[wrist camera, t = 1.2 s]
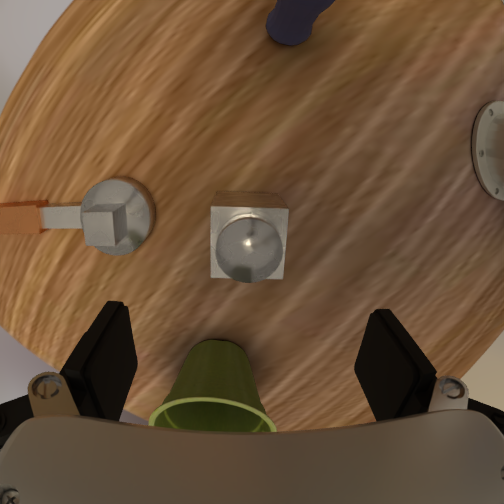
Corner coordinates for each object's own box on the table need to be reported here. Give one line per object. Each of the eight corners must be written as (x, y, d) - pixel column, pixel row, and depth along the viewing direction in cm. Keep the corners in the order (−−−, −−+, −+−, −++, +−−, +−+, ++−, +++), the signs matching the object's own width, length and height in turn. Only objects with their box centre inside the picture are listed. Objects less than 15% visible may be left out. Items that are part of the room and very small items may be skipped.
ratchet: (154, 175, 26) (135, 184, 21) (157, 246, 29) (141, 271, 24) (-2, 186, 25) (-33, 198, 20) (6, 243, 28) (-22, 261, 22)
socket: (277, 193, 28) (292, 214, 20) (273, 249, 30) (285, 288, 22) (216, 191, 27) (208, 211, 20) (216, 248, 29) (209, 287, 22)
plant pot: (189, 304, 31) (170, 379, 21) (285, 344, 34) (302, 420, 23) (155, 374, 35) (135, 444, 24) (239, 404, 37) (241, 474, 27)
